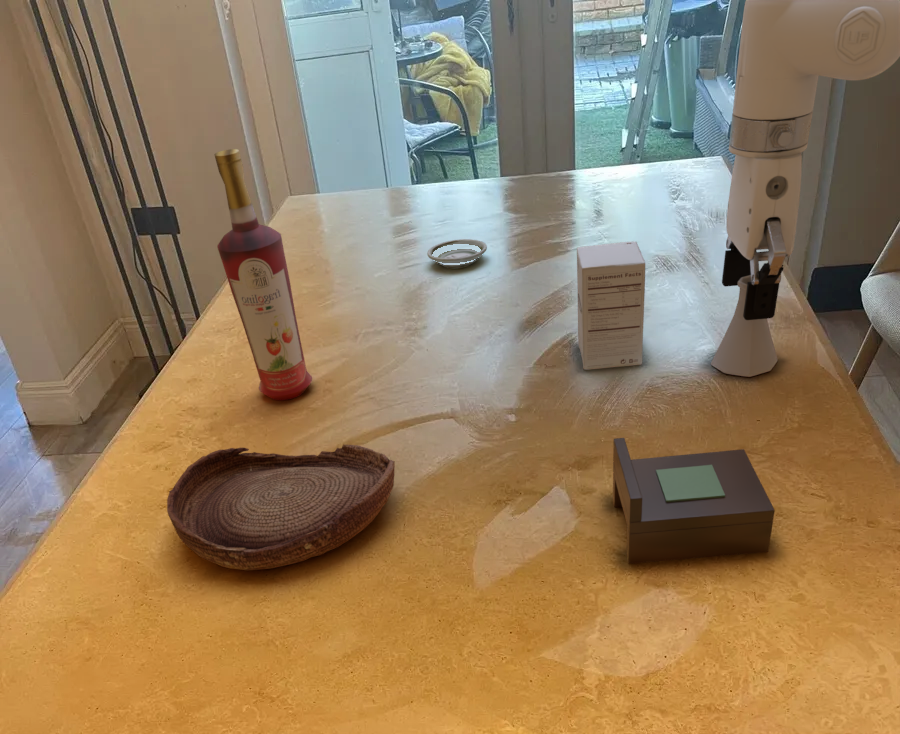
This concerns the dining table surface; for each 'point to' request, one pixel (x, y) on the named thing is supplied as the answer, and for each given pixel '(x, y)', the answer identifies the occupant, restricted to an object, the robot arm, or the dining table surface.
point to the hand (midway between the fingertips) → (746, 300)
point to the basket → (277, 504)
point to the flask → (745, 343)
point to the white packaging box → (610, 304)
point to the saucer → (458, 253)
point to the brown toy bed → (690, 505)
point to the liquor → (261, 288)
